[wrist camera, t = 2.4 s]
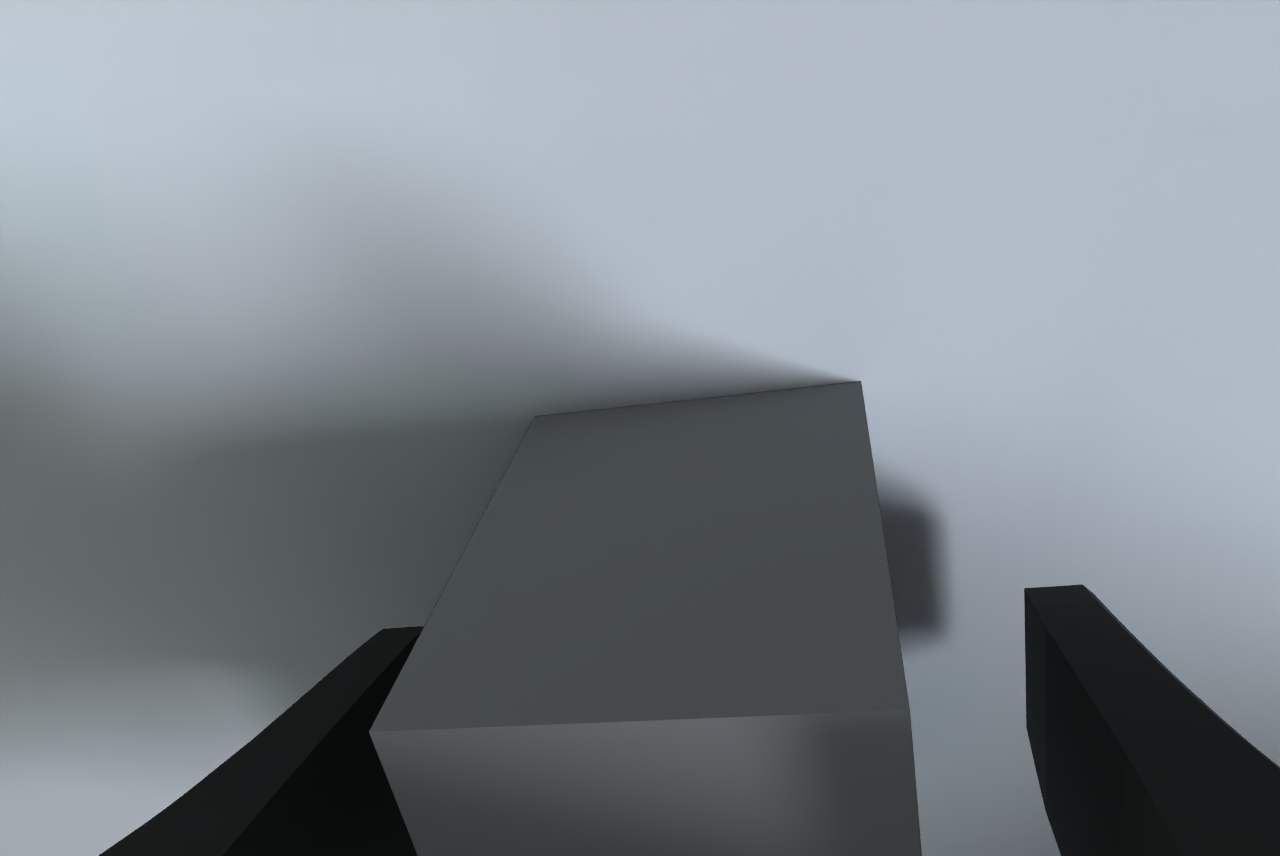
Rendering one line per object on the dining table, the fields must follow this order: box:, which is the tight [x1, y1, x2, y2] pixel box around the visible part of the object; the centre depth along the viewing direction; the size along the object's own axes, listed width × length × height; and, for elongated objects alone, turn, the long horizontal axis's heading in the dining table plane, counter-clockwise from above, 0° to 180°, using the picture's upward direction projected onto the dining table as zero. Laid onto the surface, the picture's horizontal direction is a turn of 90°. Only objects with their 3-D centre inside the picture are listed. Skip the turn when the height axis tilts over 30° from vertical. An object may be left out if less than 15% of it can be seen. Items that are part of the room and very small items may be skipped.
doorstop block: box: [369, 381, 922, 856], centre depth 11 cm, size 6×4×6 cm, turn 10°
